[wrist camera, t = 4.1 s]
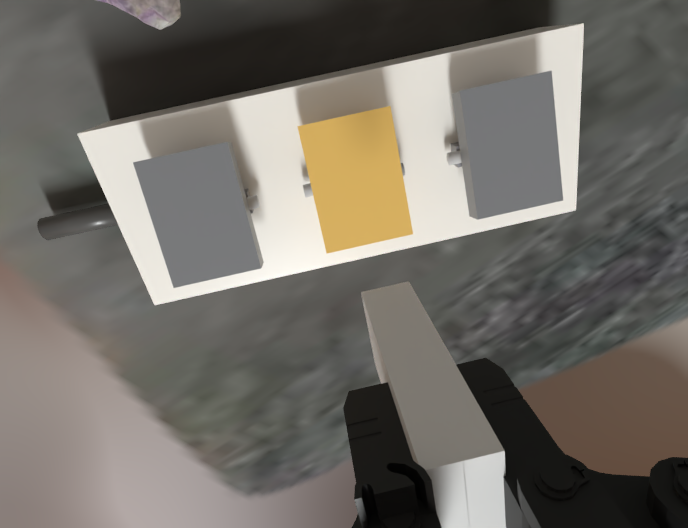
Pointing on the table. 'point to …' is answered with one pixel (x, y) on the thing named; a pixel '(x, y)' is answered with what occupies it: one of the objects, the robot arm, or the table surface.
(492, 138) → the block
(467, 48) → the white rocker switch box
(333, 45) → the table surface
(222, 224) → the block
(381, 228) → the amber rocker
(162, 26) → the geode
